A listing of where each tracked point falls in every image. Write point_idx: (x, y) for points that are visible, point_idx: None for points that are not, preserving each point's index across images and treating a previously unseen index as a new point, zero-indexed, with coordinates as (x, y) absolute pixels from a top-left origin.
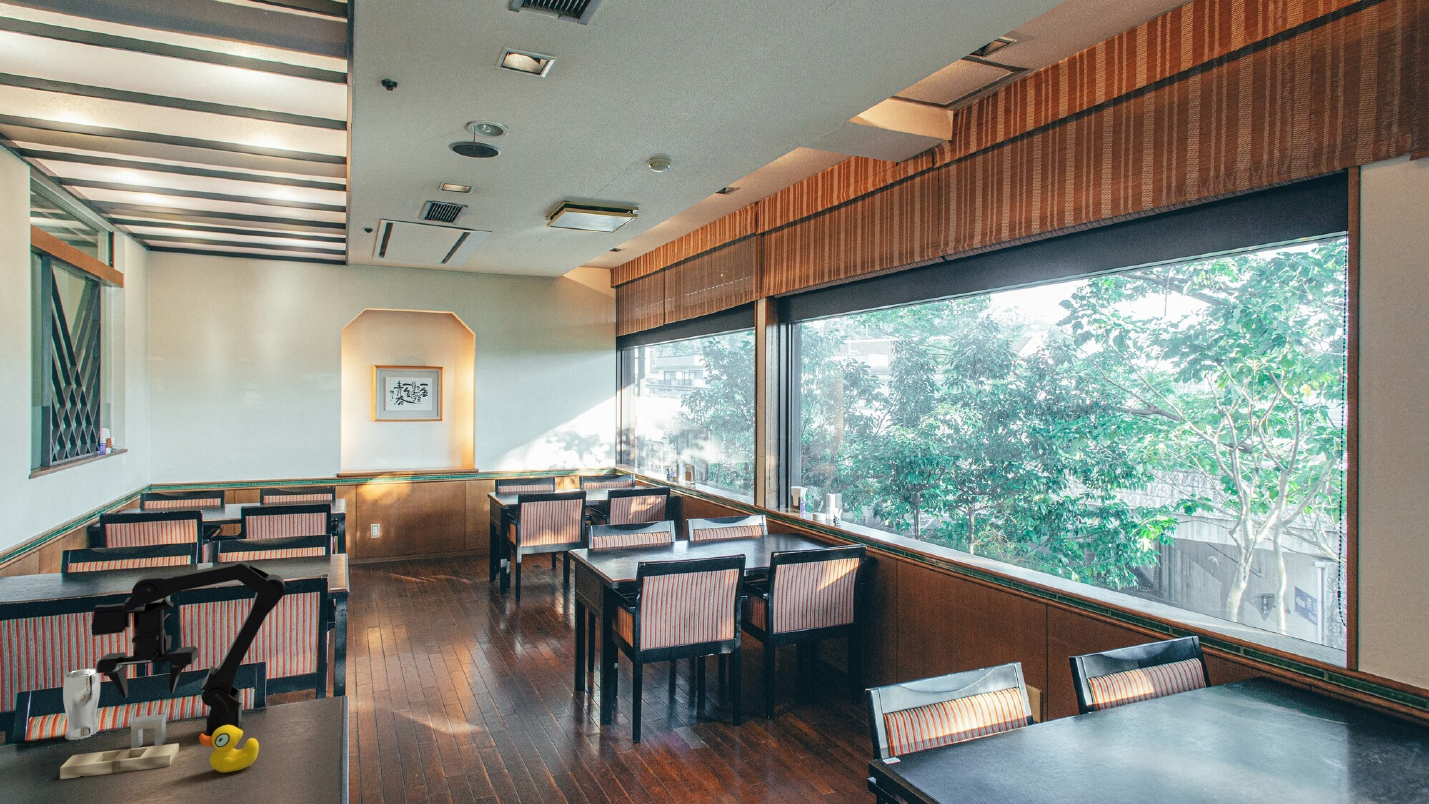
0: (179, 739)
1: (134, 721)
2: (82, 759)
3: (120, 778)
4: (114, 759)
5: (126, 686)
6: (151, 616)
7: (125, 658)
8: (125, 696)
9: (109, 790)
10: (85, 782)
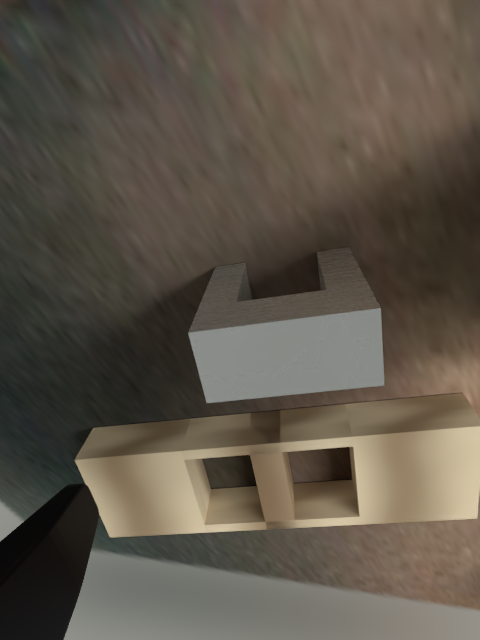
0: (414, 231)
1: (221, 398)
2: (141, 496)
3: None
4: (265, 515)
5: (18, 597)
6: None
7: None
8: (92, 534)
9: (322, 578)
10: None
